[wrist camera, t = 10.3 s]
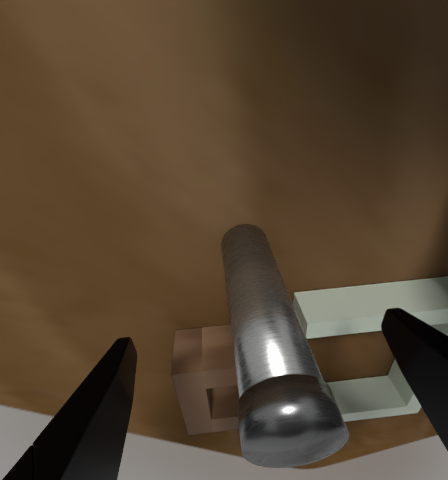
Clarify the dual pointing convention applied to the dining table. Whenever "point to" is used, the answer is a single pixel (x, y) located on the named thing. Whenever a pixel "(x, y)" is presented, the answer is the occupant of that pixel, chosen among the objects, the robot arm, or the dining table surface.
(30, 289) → the dining table surface
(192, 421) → the walnut block
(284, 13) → the dining table surface
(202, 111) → the dining table surface
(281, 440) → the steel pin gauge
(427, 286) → the open c-shaped clip
